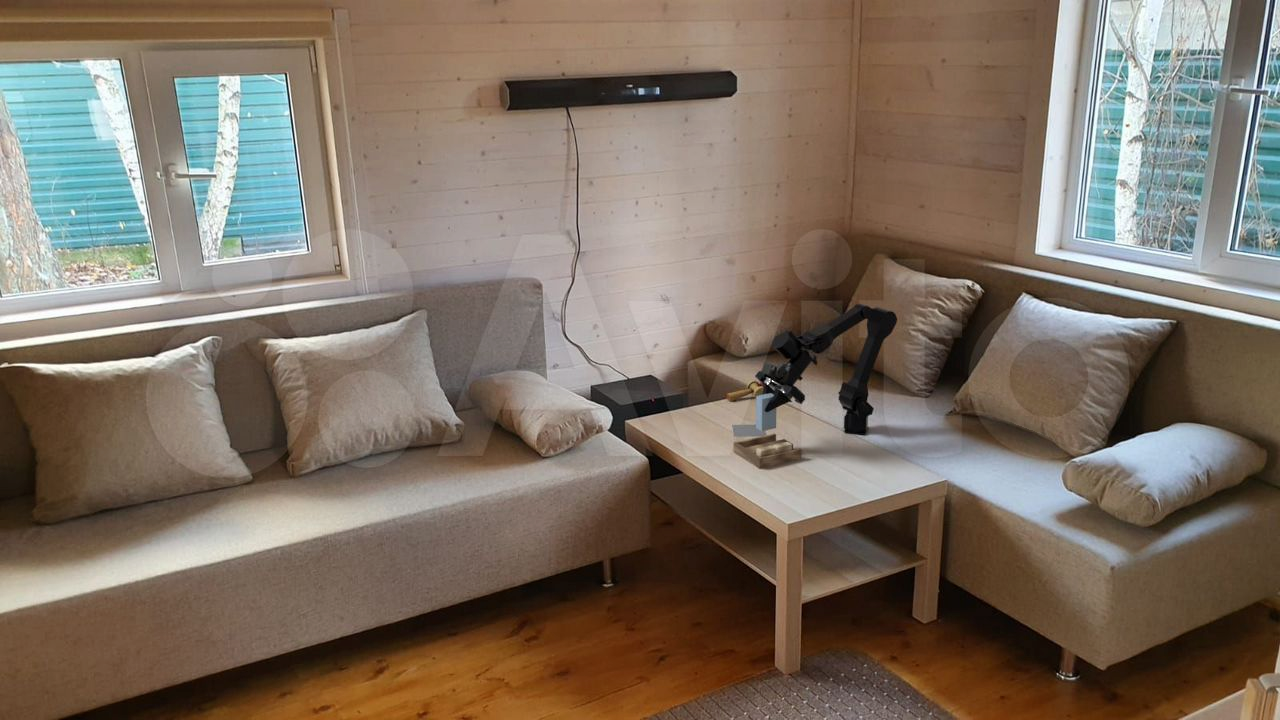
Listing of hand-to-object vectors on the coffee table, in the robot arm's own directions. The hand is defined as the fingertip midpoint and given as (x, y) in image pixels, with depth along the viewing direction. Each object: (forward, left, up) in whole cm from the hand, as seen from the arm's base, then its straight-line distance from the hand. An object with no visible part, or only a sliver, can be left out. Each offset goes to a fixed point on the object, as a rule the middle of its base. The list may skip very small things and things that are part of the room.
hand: (762, 409), depth 280 cm
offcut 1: (-4, +9, -13) cm, 16 cm away
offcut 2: (-7, +5, -13) cm, 15 cm away
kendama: (+16, -45, -14) cm, 50 cm away
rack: (-3, +3, -13) cm, 14 cm away
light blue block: (-1, -1, -6) cm, 6 cm away
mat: (+8, -14, -13) cm, 21 cm away
